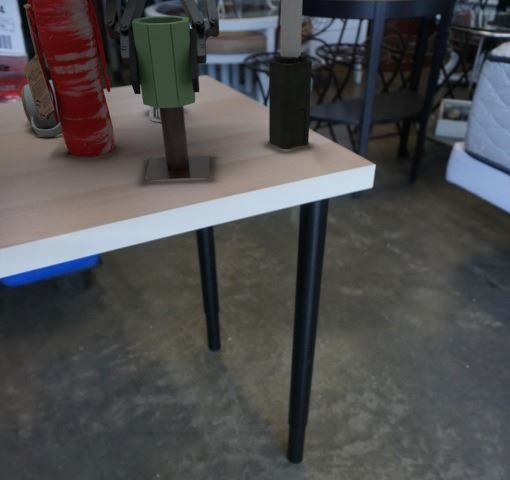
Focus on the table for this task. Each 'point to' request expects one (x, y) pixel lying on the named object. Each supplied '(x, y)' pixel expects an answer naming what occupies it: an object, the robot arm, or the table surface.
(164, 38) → the green ring
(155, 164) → the walnut peg
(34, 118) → the ceramic mug
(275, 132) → the candle
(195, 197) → the table surface
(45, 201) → the table surface
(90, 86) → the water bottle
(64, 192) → the table surface
